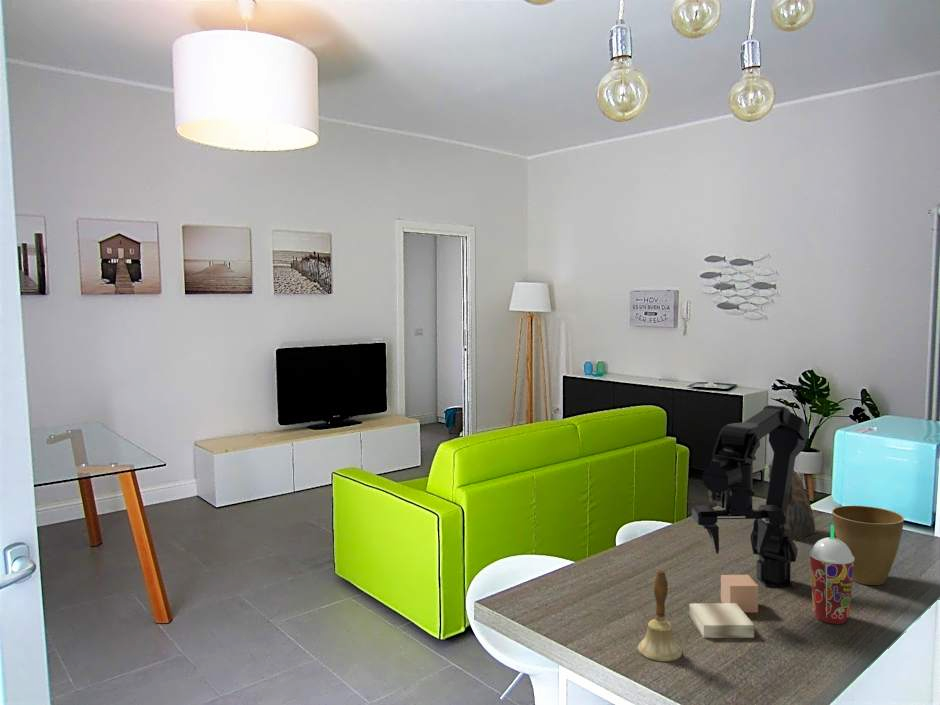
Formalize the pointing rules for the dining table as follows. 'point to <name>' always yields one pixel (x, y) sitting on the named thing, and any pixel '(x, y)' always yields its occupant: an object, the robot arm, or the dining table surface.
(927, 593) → the dining table surface
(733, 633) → the base
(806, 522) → the owl
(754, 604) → the cube
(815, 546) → the smoothie
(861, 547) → the plant pot
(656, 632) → the hand bell
